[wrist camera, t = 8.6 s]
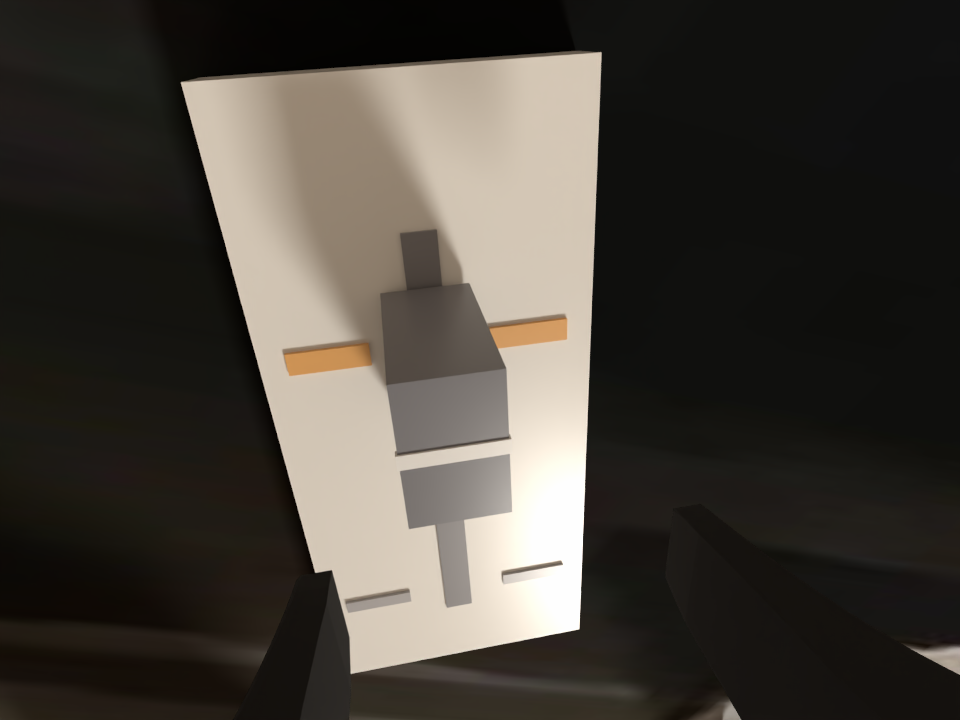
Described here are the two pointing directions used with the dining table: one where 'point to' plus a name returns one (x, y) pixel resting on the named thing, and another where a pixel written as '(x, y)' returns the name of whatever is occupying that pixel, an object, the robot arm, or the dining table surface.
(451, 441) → the fader tab
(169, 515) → the dining table surface
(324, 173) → the console board
